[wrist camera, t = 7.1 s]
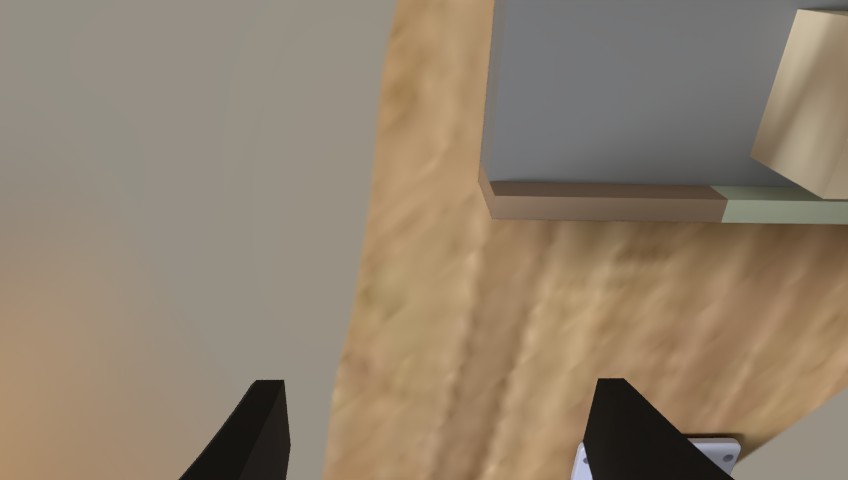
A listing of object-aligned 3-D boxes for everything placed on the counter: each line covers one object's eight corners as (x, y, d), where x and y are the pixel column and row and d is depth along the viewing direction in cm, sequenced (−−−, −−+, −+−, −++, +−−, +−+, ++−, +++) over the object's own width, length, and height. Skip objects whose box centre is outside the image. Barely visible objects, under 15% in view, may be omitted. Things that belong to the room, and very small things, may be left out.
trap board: (973, 191, 22) (1062, 227, 19) (478, 181, 20) (492, 219, 17) (1098, -39, 18) (1231, -37, 15) (500, -68, 17) (524, -72, 14)
